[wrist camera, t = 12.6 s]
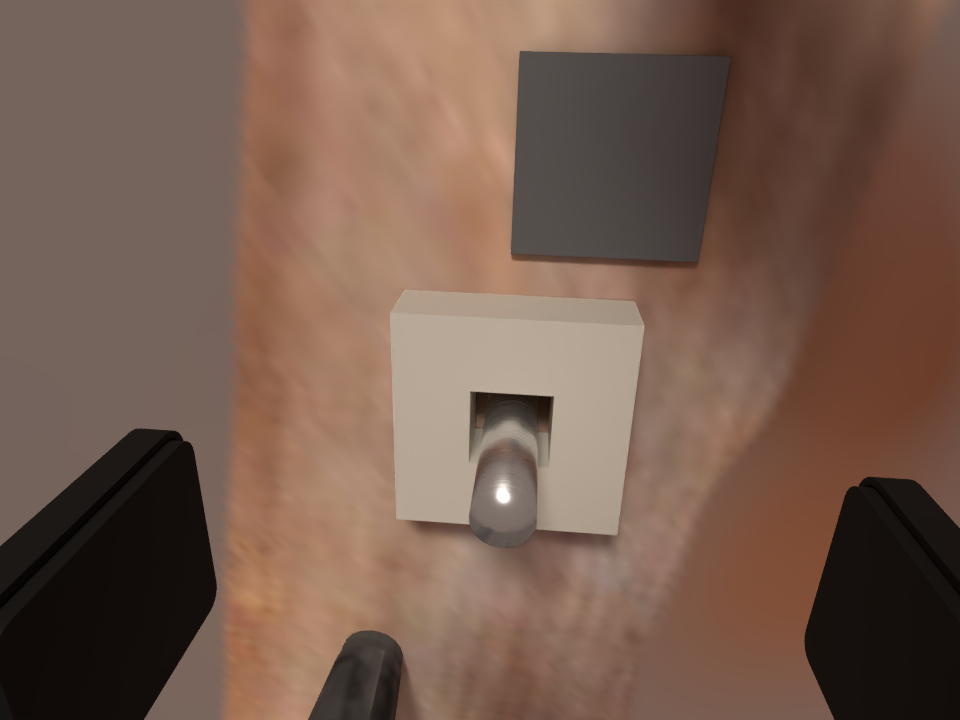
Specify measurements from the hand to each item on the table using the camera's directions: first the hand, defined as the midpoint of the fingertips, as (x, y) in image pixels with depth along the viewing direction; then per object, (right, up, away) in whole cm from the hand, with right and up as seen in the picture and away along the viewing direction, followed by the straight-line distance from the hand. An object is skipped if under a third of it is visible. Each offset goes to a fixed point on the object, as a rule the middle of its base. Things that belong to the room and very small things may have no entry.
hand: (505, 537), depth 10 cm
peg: (+2, 0, +31) cm, 31 cm away
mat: (+6, +13, +25) cm, 29 cm away
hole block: (+2, 0, +31) cm, 31 cm away
